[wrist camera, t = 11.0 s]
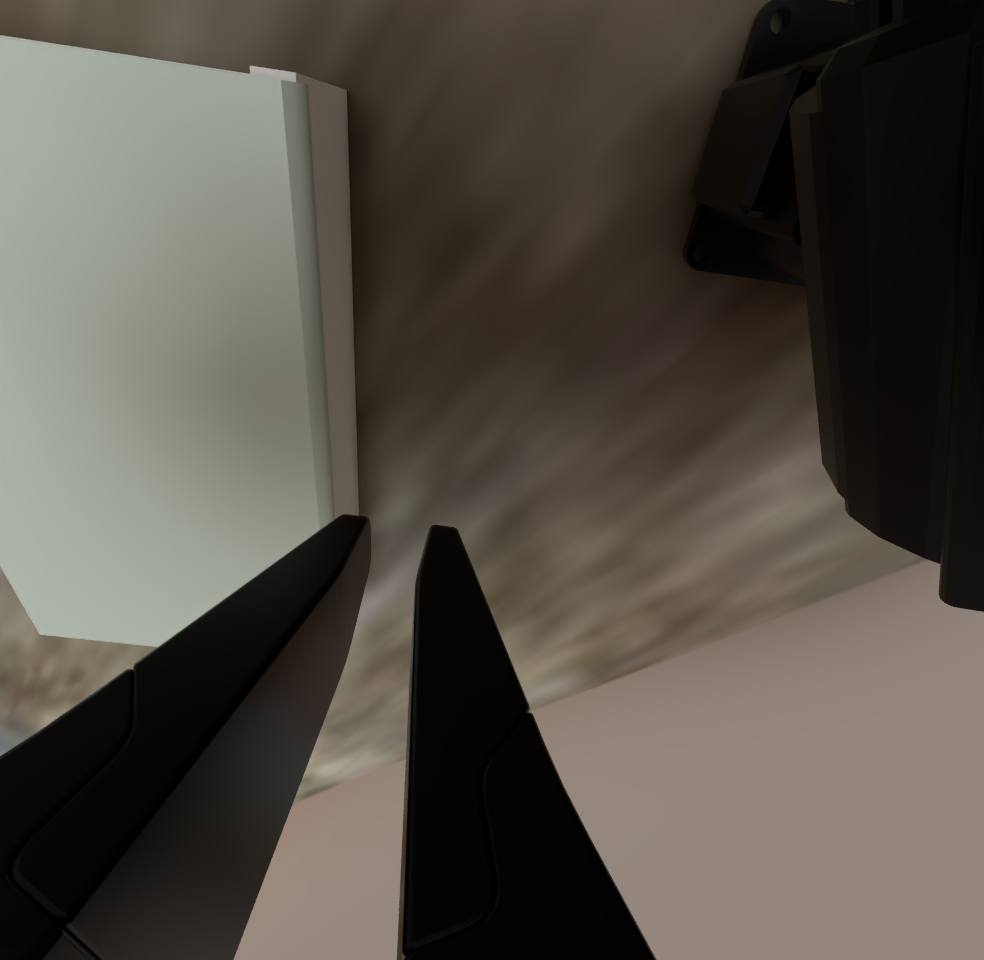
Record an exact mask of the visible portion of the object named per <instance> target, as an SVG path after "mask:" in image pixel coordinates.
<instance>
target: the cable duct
mask: <svg viewBox="0 0 984 960" xmlns="http://www.w3.org/2000/svg"><path fill="white" fill-rule="evenodd" d="M0 36H2V35H0ZM3 37H9V36H3ZM9 38H15V37H9ZM16 39H22V38H16ZM22 40H28V39H22ZM29 41H35V40H29ZM35 42H41V41H35ZM42 43H48V42H42ZM48 44H54V43H48ZM55 45H61V44H55ZM61 46H67V45H61ZM67 47H73V46H67ZM74 48H80V47H74ZM80 49H86V48H80ZM87 50H93V49H87ZM93 51H99V50H93ZM100 52H106V51H100ZM106 53H112V52H106ZM112 54H119V53H112ZM119 55H125V54H119ZM125 56H131V55H125ZM132 57H138V56H132ZM138 58H144V57H138ZM145 59H151V58H145ZM151 60H157V59H151ZM158 61H164V60H158ZM164 62H170V61H164ZM170 63H177V62H170ZM177 64H183V63H177ZM183 65H189V64H183ZM190 66H196V65H190ZM196 67H202V66H196ZM203 68H209V67H203ZM209 69H215V68H209ZM215 70H222V69H215ZM222 71H228V70H222ZM228 72H235V71H228ZM235 73H241V72H235ZM241 74H247V73H241ZM248 75H254V76H261V77H267V78H273V79H280V80H286V81H292V82H297V83H302V84H306V85H308V94H309V110H310V126H311V142H312V158H313V174H314V190H315V206H316V222H317V238H318V254H319V270H320V286H321V302H322V317H323V333H324V349H325V365H326V381H327V397H328V413H329V429H330V445H331V461H332V477H333V493H334V509H335V519H336V518H337V517H338V516H340V515H342V514H350V515H358V516H359V499H358V464H357V429H356V394H355V359H354V324H353V289H352V254H351V219H350V183H349V148H348V113H347V90H345V89H342V88H339V87H336V86H333V85H331V84H328V83H325V82H322V81H319V80H316V79H313V78H310V77H307V76H304V75H301V74H298V73H295V72H288V71H282V70H275V69H269V68H262V67H256V66H250V74H248Z"/></svg>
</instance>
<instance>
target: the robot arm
mask: <svg viewBox="0 0 984 960" xmlns="http://www.w3.org/2000/svg"><path fill="white" fill-rule="evenodd" d="M851 2H854V4H848V3H851ZM848 3H842V2H836V1H830V0H771V1H770V2H768V3H766V5H765V6H764V7H763V8H762V9H761V10H760V12H759V14H758V16H757V18H756V20H755V23H754V26H753V30H752V33H751V36H750V39H749V42H748V46H747V49H746V52H745V55H744V58H743V62H742V65H741V68H740V71H739V74H738V77H737V81H736V82H734V83H732V84H731V85H730V86H729V87H727V88H726V89H725V90H724V91H723V92H722V95H721V98H720V101H719V105H718V108H717V111H716V115H715V118H714V121H713V124H712V128H711V131H710V134H709V138H708V141H707V144H706V147H705V151H704V154H703V157H702V161H701V164H700V167H699V170H698V174H697V177H696V180H695V184H694V187H693V190H692V193H693V195H694V197H695V200H696V202H698V205H697V208H696V211H695V214H694V218H693V221H692V224H691V227H690V230H689V234H688V237H687V240H686V243H685V246H684V250H683V258H684V262H685V263H686V264H687V265H688V266H689V267H691V268H693V269H695V270H699V271H706V272H713V273H720V274H727V275H734V276H740V277H747V278H754V279H761V280H768V281H775V282H782V283H789V284H795V285H802V286H806V297H807V307H808V317H809V328H810V338H811V349H812V359H813V370H814V380H815V391H816V401H817V412H818V422H819V433H820V443H821V454H822V464H823V465H824V467H825V469H826V471H827V473H828V475H829V476H830V478H831V480H832V482H833V484H834V486H835V488H836V489H837V491H838V493H839V494H840V495H841V496H842V497H843V498H844V499H845V508H846V511H847V513H848V515H849V516H850V517H852V518H853V519H855V520H856V521H857V522H859V523H860V524H861V525H863V526H864V527H865V528H867V529H868V530H870V531H871V532H872V533H874V534H875V535H876V536H878V537H880V538H882V539H884V540H886V541H888V542H891V543H893V544H895V545H897V546H899V547H901V548H903V549H906V550H908V551H910V552H912V553H914V554H916V555H919V556H921V557H923V558H925V559H928V560H931V561H934V562H937V563H939V564H941V566H940V582H939V596H940V599H941V600H942V601H943V602H944V603H946V604H948V605H950V606H953V607H958V608H964V609H970V610H976V611H983V612H984V0H848ZM778 10H779V11H780V12H782V13H783V15H784V18H785V19H784V26H783V27H782V29H781V31H780V32H779V33H778V34H775V33H774V32H772V30H771V28H770V21H771V18H772V16H773V14H774V12H775V11H778ZM701 245H706V247H707V253H706V254H705V256H704V257H703V258H701V259H699V260H696V259H695V257H694V255H695V251H696V249H697V248H698V247H699V246H701ZM370 561H371V526H370V520H369V519H368V518H367V517H365V516H358V515H350V514H342V515H340V516H338V517H337V518H336V519H334V520H333V521H331V522H330V523H329V524H327V525H326V526H324V527H323V528H322V529H320V530H319V531H318V532H316V533H315V534H313V535H312V536H311V537H309V538H308V539H307V540H305V541H304V542H302V543H301V544H300V545H298V546H297V547H295V548H294V549H293V550H291V551H290V552H289V553H287V554H286V555H284V556H283V557H282V558H280V559H279V560H277V561H276V562H275V563H273V564H272V565H271V566H269V567H268V568H266V569H265V570H264V571H262V572H261V573H260V574H258V575H257V576H255V577H254V578H253V579H251V580H250V581H248V582H247V583H246V584H244V585H243V586H242V587H240V588H239V589H237V590H236V591H235V592H233V593H232V594H231V595H229V596H228V597H226V598H225V599H224V600H222V601H221V602H219V603H218V604H217V605H215V606H214V607H213V608H211V609H210V610H208V611H207V612H206V613H204V614H203V615H201V616H200V617H199V618H197V619H196V620H195V621H193V622H192V623H190V624H189V625H188V626H186V627H185V628H184V629H182V630H181V631H179V632H178V633H177V634H175V635H174V636H172V637H171V638H170V639H168V640H167V641H166V642H164V643H163V644H161V645H160V646H159V647H157V648H156V649H154V650H153V651H152V652H150V653H149V654H148V655H146V656H145V657H143V658H142V659H141V660H139V661H138V662H137V663H135V665H134V667H133V670H132V669H127V670H125V671H124V672H122V673H121V674H120V675H118V676H117V677H115V678H114V679H113V680H111V681H110V682H108V683H107V684H106V685H104V686H103V687H102V688H100V689H99V690H97V691H96V692H95V693H93V694H92V695H90V696H89V697H87V698H86V699H85V700H83V701H82V702H80V703H79V704H77V705H76V706H74V707H73V708H72V709H70V710H69V711H67V712H66V713H64V714H63V715H62V716H60V717H59V718H57V719H56V720H54V721H53V722H51V723H50V724H49V725H47V726H46V727H44V728H43V729H41V730H40V731H38V732H37V733H35V734H34V735H32V736H31V737H29V738H28V739H26V740H25V741H23V742H21V743H20V744H18V745H17V746H15V747H14V748H12V749H11V750H9V751H8V752H6V753H4V754H3V755H1V756H0V960H233V959H234V956H235V954H236V951H237V949H238V946H239V944H240V941H241V938H242V936H243V933H244V930H245V928H246V925H247V922H248V920H249V917H250V914H251V911H252V909H253V907H254V904H255V901H256V899H257V896H258V893H259V891H260V888H261V886H262V883H263V880H264V878H265V875H266V872H267V870H268V867H269V864H270V862H271V859H272V857H273V854H274V851H275V849H276V846H277V843H278V841H279V838H280V836H281V833H282V830H283V828H284V825H285V822H286V820H287V817H288V814H289V812H290V809H291V807H292V804H293V801H294V799H295V796H296V793H297V791H298V788H299V785H300V783H301V780H302V778H303V775H304V772H305V770H306V767H307V764H308V762H309V759H310V756H311V754H312V751H313V749H314V746H315V743H316V741H317V738H318V735H319V733H320V730H321V727H322V725H323V722H324V720H325V717H326V714H327V712H328V709H329V706H330V704H331V701H332V698H333V696H334V693H335V691H336V688H337V685H338V683H339V680H340V677H341V675H342V672H343V669H344V666H345V663H346V660H347V656H348V653H349V649H350V646H351V642H352V638H353V634H354V630H355V626H356V622H357V617H358V613H359V609H360V605H361V601H362V597H363V593H364V589H365V585H366V581H367V577H368V573H369V568H370ZM529 710H530V707H529V704H528V702H527V699H526V697H525V695H524V692H523V690H522V687H521V685H520V682H519V680H518V677H517V675H516V672H515V670H514V667H513V665H512V663H511V660H510V658H509V655H508V653H507V650H506V648H505V645H504V643H503V640H502V638H501V635H500V633H499V630H498V628H497V626H496V623H495V621H494V618H493V616H492V613H491V611H490V608H489V606H488V603H487V601H486V598H485V596H484V594H483V591H482V589H481V586H480V584H479V581H478V579H477V576H476V574H475V571H474V569H473V566H472V564H471V561H470V559H469V557H468V554H467V552H466V549H465V547H464V544H463V542H462V539H461V537H460V534H459V532H458V530H457V529H456V528H454V527H448V526H440V525H432V526H431V527H430V528H429V532H428V535H427V539H426V543H425V547H424V550H423V554H422V558H421V561H420V565H419V569H418V573H417V578H416V584H415V596H414V614H413V631H412V648H411V665H410V683H409V704H408V726H407V748H406V770H405V792H404V814H403V836H402V859H401V880H400V901H399V924H398V945H397V960H656V958H655V956H654V954H653V953H652V951H651V949H650V947H649V945H648V943H647V941H646V940H645V938H644V936H643V934H642V932H641V931H640V929H639V927H638V925H637V923H636V921H635V919H634V918H633V916H632V914H631V912H630V910H629V908H628V907H627V905H626V903H625V901H624V899H623V897H622V896H621V894H620V892H619V890H618V888H617V886H616V885H615V883H614V881H613V879H612V877H611V875H610V874H609V872H608V870H607V868H606V866H605V865H604V862H603V861H602V859H601V857H600V855H599V853H598V851H597V850H596V848H595V846H594V844H593V842H592V840H591V839H590V837H589V835H588V833H587V831H586V829H585V827H584V825H583V823H582V821H581V819H580V817H579V815H578V813H577V812H576V810H575V807H574V806H573V804H572V802H571V800H570V798H569V796H568V794H567V792H566V790H565V788H564V786H563V784H562V782H561V779H560V777H559V775H558V772H557V770H556V768H555V766H554V763H553V761H552V759H551V756H550V754H549V752H548V750H547V748H546V745H545V743H544V741H543V738H542V736H541V733H540V731H539V729H538V726H537V723H536V721H535V719H534V716H533V714H532V713H529Z"/></svg>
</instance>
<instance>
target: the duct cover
mask: <svg viewBox="0 0 984 960" xmlns="http://www.w3.org/2000/svg"><path fill="white" fill-rule="evenodd" d="M334 519H335V509H334V493H333V477H332V461H331V445H330V429H329V413H328V397H327V381H326V365H325V349H324V333H323V317H322V302H321V286H320V270H319V254H318V238H317V222H316V206H315V190H314V174H313V158H312V142H311V126H310V110H309V94H308V85H306V84H302V83H297V82H292V81H286V80H280V79H273V78H267V77H261V76H254V75H248V74H241V73H235V72H228V71H222V70H215V69H209V68H203V67H196V66H190V65H183V64H177V63H170V62H164V61H158V60H151V59H145V58H138V57H132V56H125V55H119V54H112V53H106V52H100V51H93V50H87V49H80V48H74V47H67V46H61V45H55V44H48V43H42V42H35V41H29V40H22V39H16V38H9V37H3V36H0V567H1V568H2V570H3V572H4V573H5V575H6V577H7V579H8V580H9V582H10V584H11V586H12V587H13V589H14V591H15V592H16V594H17V596H18V598H19V599H20V601H21V603H22V605H23V606H24V608H25V610H26V611H27V613H28V615H29V617H30V618H31V620H32V622H33V624H34V625H35V627H36V629H37V630H38V632H39V634H41V635H50V636H60V637H69V638H78V639H88V640H97V641H107V642H116V643H126V644H135V645H144V646H154V647H159V646H160V645H161V644H163V643H164V642H166V641H167V640H168V639H170V638H171V637H172V636H174V635H175V634H177V633H178V632H179V631H181V630H182V629H184V628H185V627H186V626H188V625H189V624H190V623H192V622H193V621H195V620H196V619H197V618H199V617H200V616H201V615H203V614H204V613H206V612H207V611H208V610H210V609H211V608H213V607H214V606H215V605H217V604H218V603H219V602H221V601H222V600H224V599H225V598H226V597H228V596H229V595H231V594H232V593H233V592H235V591H236V590H237V589H239V588H240V587H242V586H243V585H244V584H246V583H247V582H248V581H250V580H251V579H253V578H254V577H255V576H257V575H258V574H260V573H261V572H262V571H264V570H265V569H266V568H268V567H269V566H271V565H272V564H273V563H275V562H276V561H277V560H279V559H280V558H282V557H283V556H284V555H286V554H287V553H289V552H290V551H291V550H293V549H294V548H295V547H297V546H298V545H300V544H301V543H302V542H304V541H305V540H307V539H308V538H309V537H311V536H312V535H313V534H315V533H316V532H318V531H319V530H320V529H322V528H323V527H324V526H326V525H327V524H329V523H330V522H331V521H333V520H334Z"/></svg>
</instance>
